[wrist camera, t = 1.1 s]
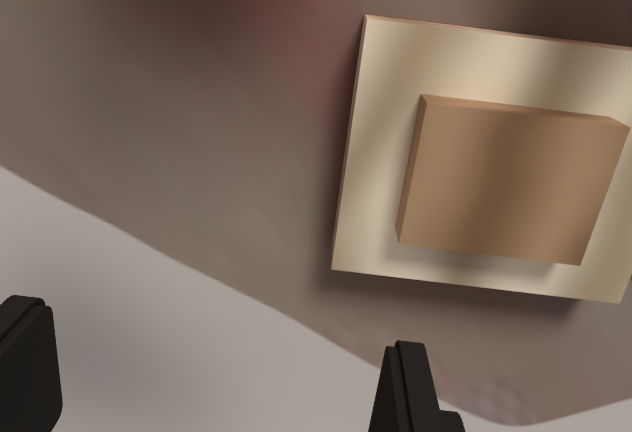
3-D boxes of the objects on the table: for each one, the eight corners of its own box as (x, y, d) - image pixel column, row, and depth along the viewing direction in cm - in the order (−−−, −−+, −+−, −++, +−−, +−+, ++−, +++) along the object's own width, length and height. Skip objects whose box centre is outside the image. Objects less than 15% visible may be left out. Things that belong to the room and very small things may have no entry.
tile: (609, 116, 25) (630, 127, 23) (564, 247, 28) (580, 265, 26) (420, 93, 25) (427, 102, 23) (394, 226, 28) (398, 244, 26)
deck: (678, 52, 27) (720, 61, 24) (594, 274, 32) (619, 303, 29) (364, 14, 26) (367, 18, 24) (332, 242, 32) (331, 269, 29)
